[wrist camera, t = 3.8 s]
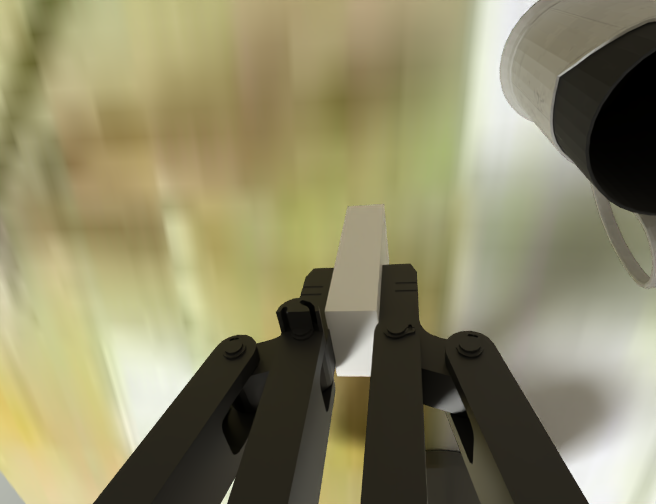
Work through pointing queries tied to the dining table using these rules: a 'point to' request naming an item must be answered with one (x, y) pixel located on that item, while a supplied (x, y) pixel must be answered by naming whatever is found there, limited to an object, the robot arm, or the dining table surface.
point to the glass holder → (594, 101)
